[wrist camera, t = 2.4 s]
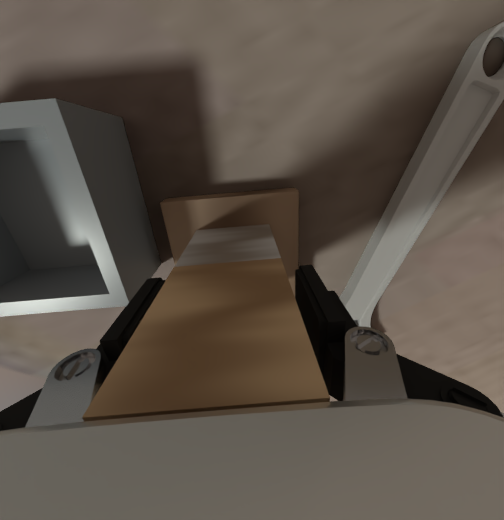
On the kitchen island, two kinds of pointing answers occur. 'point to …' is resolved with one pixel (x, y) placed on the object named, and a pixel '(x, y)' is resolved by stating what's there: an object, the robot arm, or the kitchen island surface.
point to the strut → (216, 336)
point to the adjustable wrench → (427, 175)
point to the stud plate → (237, 219)
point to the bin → (69, 210)
